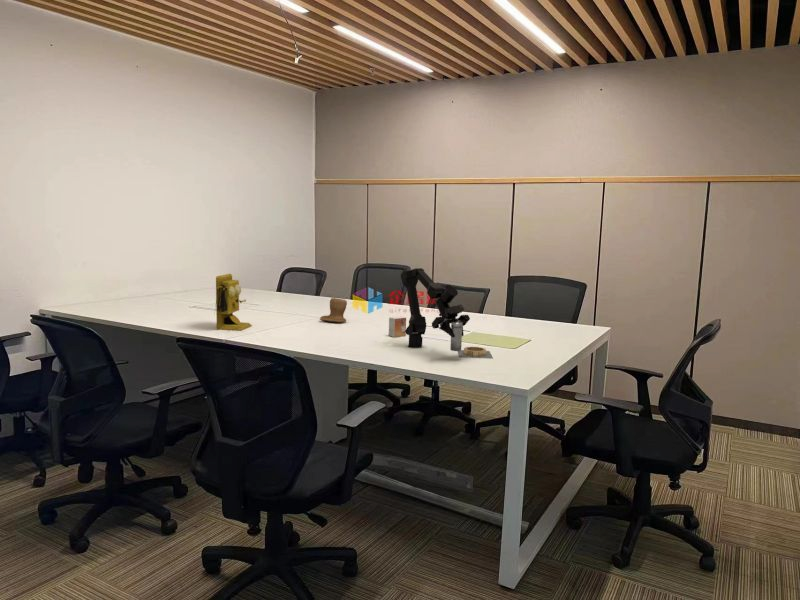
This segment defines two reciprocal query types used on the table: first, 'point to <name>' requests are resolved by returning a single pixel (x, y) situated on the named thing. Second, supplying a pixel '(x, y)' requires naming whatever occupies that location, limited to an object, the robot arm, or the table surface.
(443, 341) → the table surface
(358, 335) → the table surface
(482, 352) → the ring collar
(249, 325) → the vintage telephone
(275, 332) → the table surface
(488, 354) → the mat
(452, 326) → the grey tall cylinder
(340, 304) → the brown suede boot shape
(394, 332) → the small box
